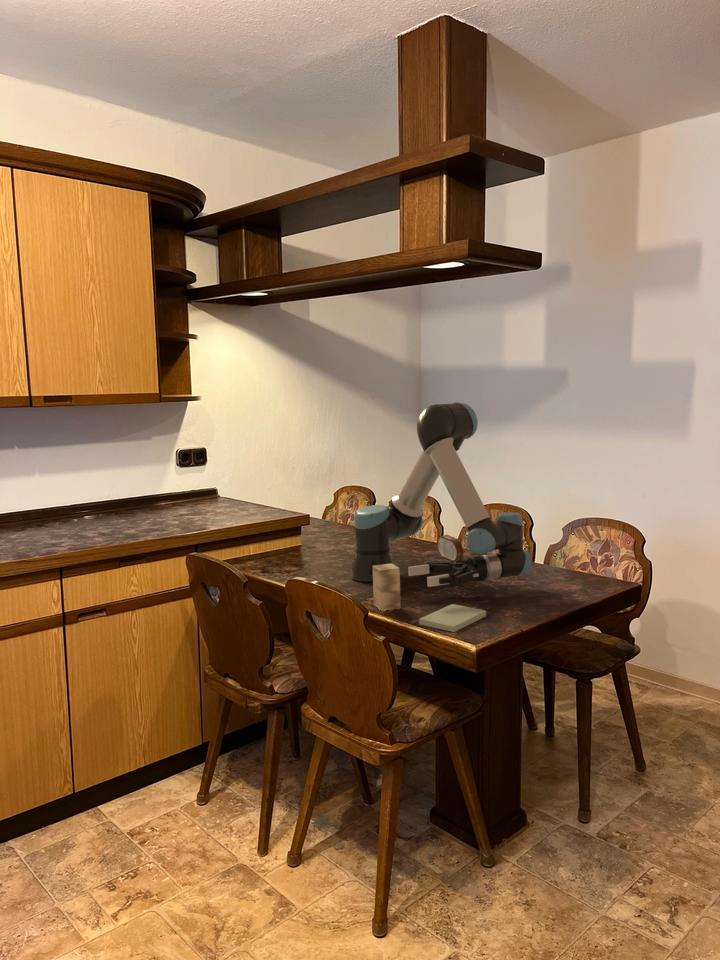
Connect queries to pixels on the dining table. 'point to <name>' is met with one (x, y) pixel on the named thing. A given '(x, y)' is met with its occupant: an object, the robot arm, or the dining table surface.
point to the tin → (450, 548)
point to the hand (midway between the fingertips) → (417, 576)
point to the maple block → (386, 587)
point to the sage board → (452, 617)
